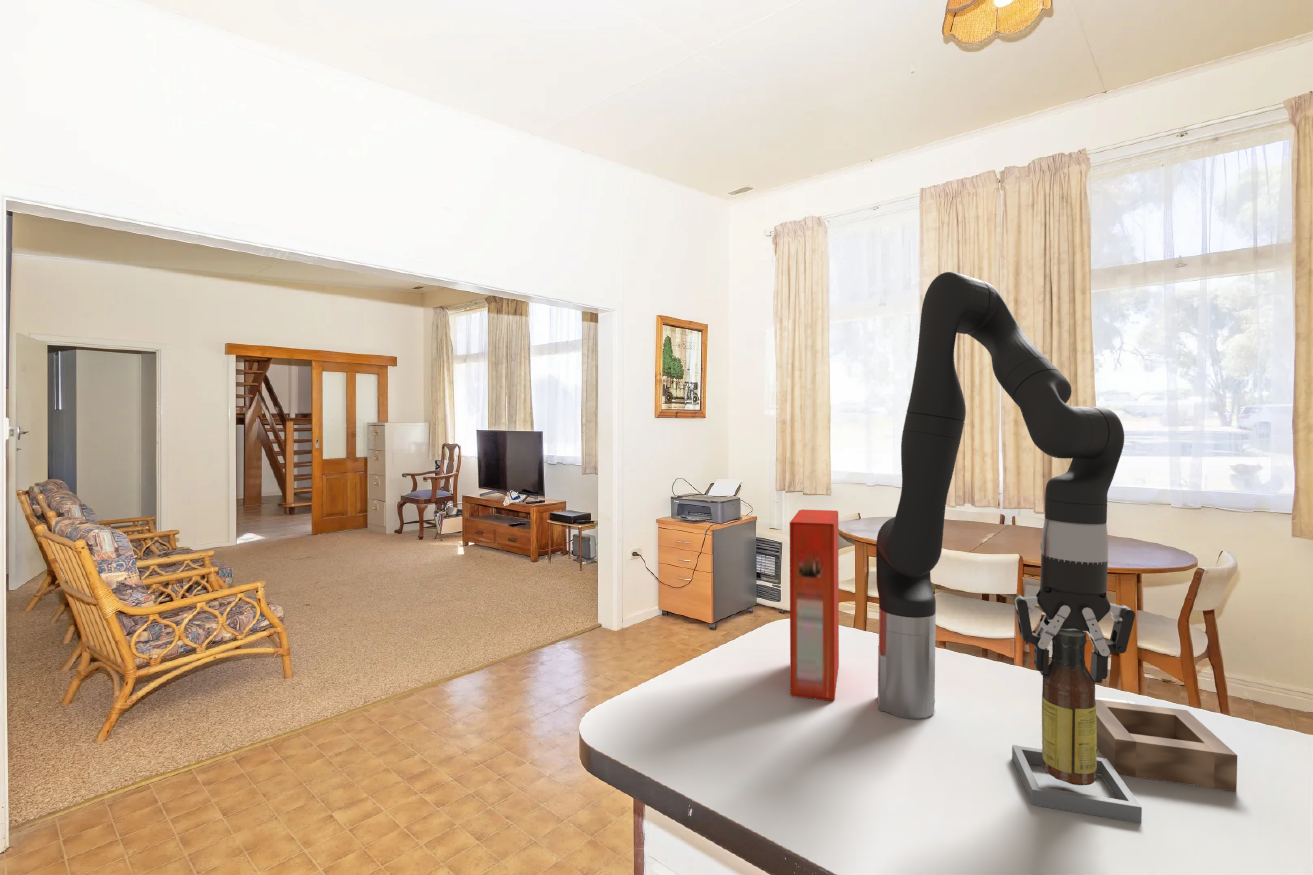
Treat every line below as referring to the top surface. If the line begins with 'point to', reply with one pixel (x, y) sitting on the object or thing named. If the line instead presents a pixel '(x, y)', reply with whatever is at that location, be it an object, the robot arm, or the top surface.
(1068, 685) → the sauce bottle
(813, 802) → the top surface
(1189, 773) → the holder
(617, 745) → the top surface
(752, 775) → the top surface
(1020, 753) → the square frame
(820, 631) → the file binder
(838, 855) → the top surface
